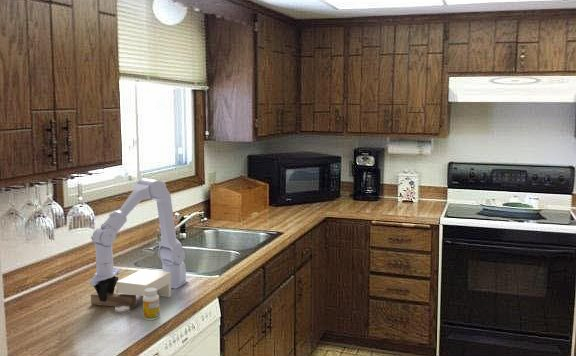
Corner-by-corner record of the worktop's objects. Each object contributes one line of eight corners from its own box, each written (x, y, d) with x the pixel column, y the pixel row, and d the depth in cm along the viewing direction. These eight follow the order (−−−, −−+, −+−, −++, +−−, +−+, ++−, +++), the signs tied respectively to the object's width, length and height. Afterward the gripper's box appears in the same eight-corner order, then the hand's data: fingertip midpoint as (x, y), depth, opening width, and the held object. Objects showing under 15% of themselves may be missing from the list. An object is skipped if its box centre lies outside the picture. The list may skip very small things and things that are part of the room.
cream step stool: (142, 292, 218) (141, 268, 217) (171, 295, 214) (170, 272, 213) (116, 306, 203) (115, 281, 202) (147, 310, 199) (146, 285, 198)
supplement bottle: (142, 315, 194) (140, 288, 193) (158, 313, 197) (157, 286, 195) (144, 321, 190) (143, 293, 188) (161, 319, 192) (160, 290, 190)
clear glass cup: (120, 308, 202) (120, 302, 202) (132, 309, 201) (132, 303, 201) (112, 313, 198) (111, 307, 197) (125, 314, 196) (125, 308, 196)
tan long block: (95, 301, 208) (95, 291, 207) (136, 304, 204) (136, 295, 203) (91, 304, 205) (90, 294, 204) (132, 307, 201) (131, 298, 201)
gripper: (107, 255, 211) (109, 291, 213) (81, 266, 198) (83, 304, 199) (124, 257, 209) (125, 293, 211) (98, 268, 195) (100, 307, 197)
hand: (106, 299), depth 205 cm, fingers closed on tan long block, 3 cm apart
